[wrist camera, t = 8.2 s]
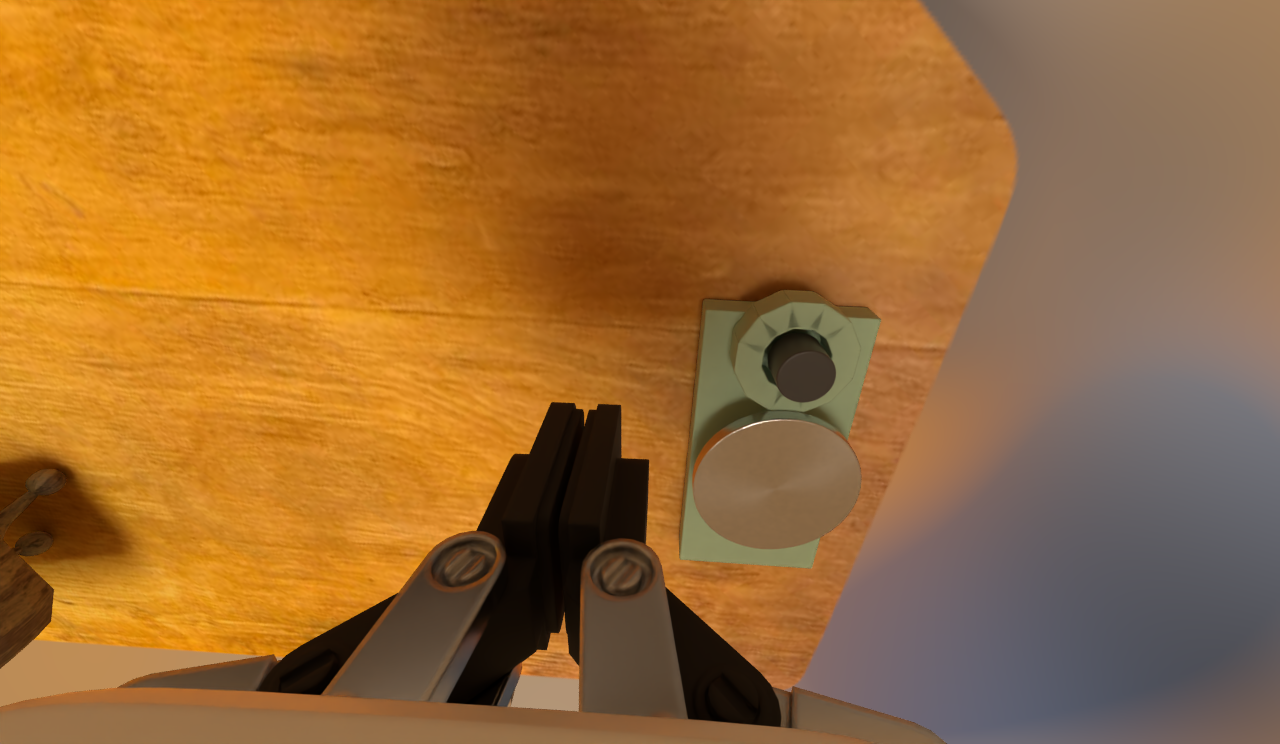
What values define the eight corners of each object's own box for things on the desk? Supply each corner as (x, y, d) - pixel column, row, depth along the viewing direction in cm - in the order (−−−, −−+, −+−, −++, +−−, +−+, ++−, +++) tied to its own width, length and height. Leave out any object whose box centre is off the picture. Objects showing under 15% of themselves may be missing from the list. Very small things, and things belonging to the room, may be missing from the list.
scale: (874, 284, 23) (906, 308, 20) (804, 547, 31) (820, 594, 27) (705, 275, 23) (711, 297, 20) (678, 538, 31) (680, 585, 28)
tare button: (827, 333, 21) (842, 352, 19) (816, 382, 22) (829, 405, 20) (771, 330, 21) (781, 349, 19) (763, 379, 22) (772, 401, 20)
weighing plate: (874, 415, 22) (881, 424, 21) (835, 543, 26) (840, 555, 25) (699, 404, 22) (700, 413, 22) (685, 533, 26) (686, 544, 25)
